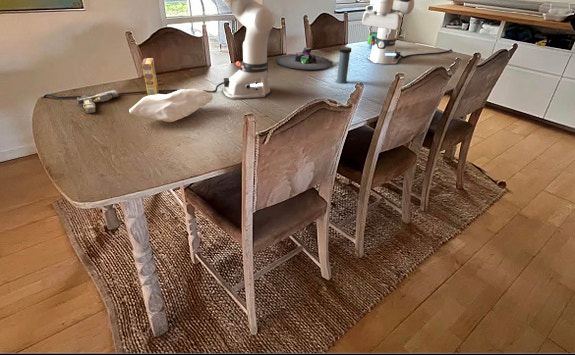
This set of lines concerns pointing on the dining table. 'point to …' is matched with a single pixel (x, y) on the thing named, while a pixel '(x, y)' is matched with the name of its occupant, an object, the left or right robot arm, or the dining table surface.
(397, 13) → the right robot arm
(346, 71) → the grey tall cylinder
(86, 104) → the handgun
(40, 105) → the dining table surface
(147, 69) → the candy box
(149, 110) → the crumpled cloth
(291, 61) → the round decorative tray
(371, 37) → the snack cup
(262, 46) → the left robot arm
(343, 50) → the lid
